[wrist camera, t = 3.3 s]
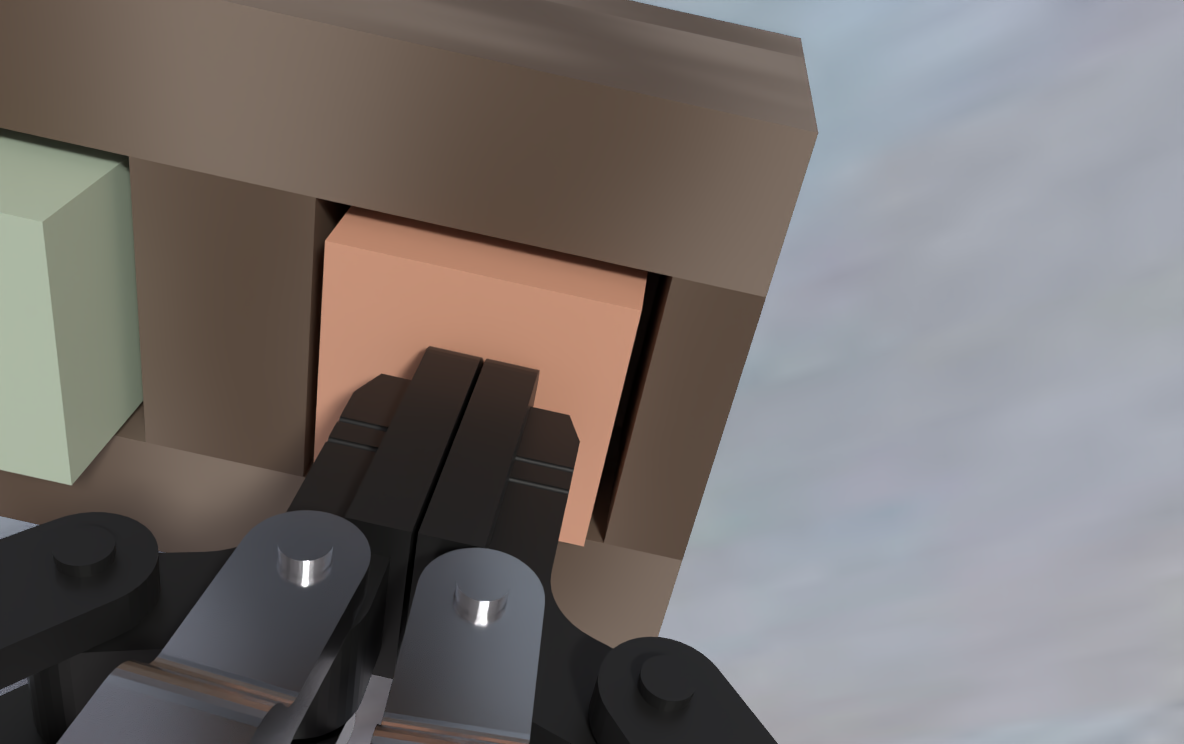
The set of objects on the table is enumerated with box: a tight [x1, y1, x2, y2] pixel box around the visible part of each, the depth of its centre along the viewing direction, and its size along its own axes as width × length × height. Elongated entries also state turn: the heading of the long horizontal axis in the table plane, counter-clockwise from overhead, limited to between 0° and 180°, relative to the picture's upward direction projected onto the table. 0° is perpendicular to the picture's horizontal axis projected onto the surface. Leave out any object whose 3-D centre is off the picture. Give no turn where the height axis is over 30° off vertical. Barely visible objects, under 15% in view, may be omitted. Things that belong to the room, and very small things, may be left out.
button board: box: [0, 0, 818, 648], centre depth 16 cm, size 21×9×4 cm, turn 79°
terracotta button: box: [314, 206, 648, 546], centre depth 15 cm, size 4×4×3 cm
